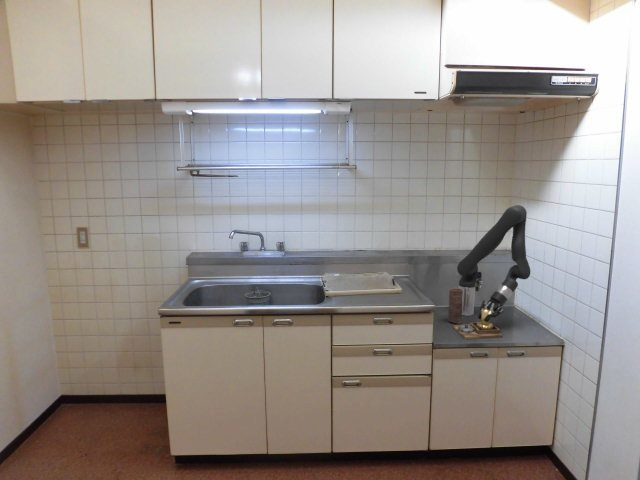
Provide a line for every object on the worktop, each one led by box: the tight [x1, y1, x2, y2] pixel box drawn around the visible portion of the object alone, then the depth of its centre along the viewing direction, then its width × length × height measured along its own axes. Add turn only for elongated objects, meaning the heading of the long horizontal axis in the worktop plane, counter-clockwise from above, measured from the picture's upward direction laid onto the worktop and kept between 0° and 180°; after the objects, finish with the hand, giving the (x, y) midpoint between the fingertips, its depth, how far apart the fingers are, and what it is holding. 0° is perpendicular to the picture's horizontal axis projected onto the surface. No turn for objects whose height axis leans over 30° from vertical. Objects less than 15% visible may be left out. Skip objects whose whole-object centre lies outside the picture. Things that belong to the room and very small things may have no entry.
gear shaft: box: [476, 308, 494, 330], centre depth 218 cm, size 8×8×10 cm
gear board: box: [452, 321, 504, 340], centre depth 219 cm, size 16×20×5 cm
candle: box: [447, 287, 463, 325], centre depth 232 cm, size 8×7×20 cm
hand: (482, 319), depth 218 cm, fingers closed on gear shaft, 4 cm apart
